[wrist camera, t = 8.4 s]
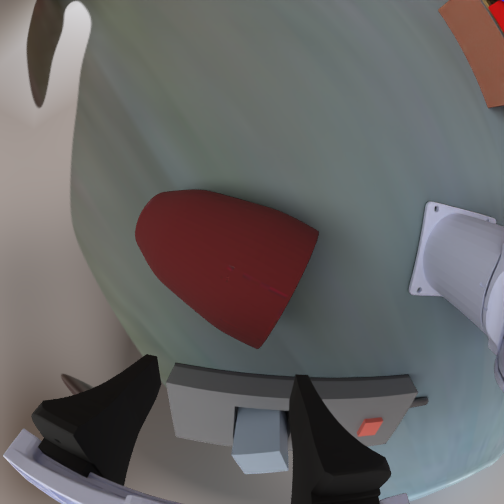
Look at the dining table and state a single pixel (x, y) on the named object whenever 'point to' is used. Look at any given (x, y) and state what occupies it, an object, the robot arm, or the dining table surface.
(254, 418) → the block
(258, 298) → the mug
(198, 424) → the power strip
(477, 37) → the blue-topped brown box
